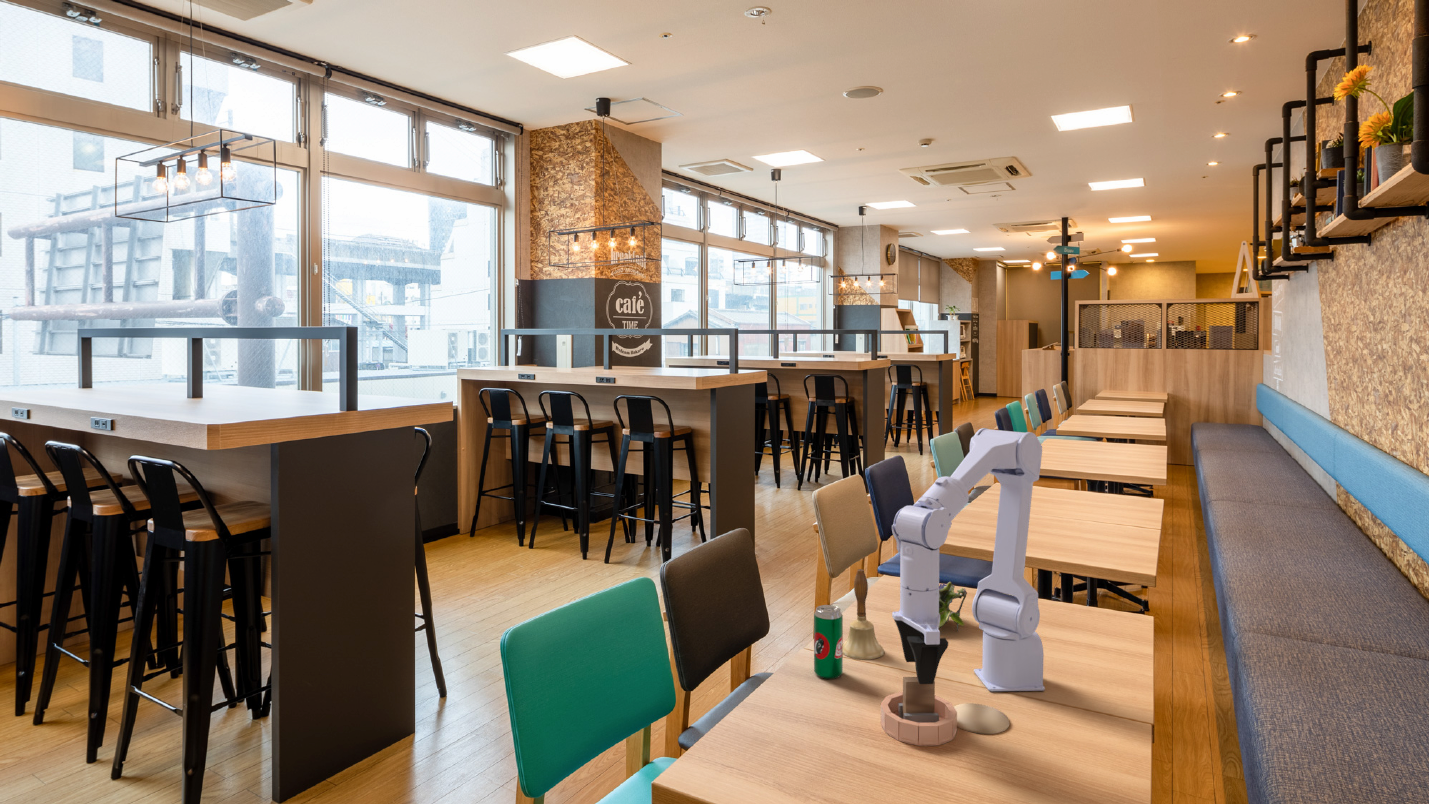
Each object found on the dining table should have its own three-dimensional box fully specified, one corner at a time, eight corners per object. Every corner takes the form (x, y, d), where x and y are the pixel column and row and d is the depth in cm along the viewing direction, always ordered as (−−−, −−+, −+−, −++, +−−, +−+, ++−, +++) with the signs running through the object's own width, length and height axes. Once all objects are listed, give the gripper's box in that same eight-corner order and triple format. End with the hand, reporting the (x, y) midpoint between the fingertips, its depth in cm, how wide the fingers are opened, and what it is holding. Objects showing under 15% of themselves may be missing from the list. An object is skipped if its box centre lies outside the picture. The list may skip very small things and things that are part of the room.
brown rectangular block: (931, 720, 119) (931, 676, 118) (934, 725, 117) (934, 681, 116) (902, 720, 119) (903, 676, 118) (905, 726, 117) (905, 682, 116)
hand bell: (855, 663, 141) (856, 578, 140) (831, 647, 149) (831, 566, 148) (892, 655, 145) (893, 572, 143) (867, 639, 152) (867, 561, 151)
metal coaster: (996, 705, 124) (996, 702, 124) (1018, 733, 115) (1018, 731, 115) (941, 706, 124) (941, 703, 124) (959, 734, 115) (959, 732, 115)
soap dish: (943, 708, 124) (943, 690, 123) (966, 745, 112) (966, 725, 112) (874, 709, 123) (874, 691, 123) (890, 746, 112) (890, 726, 112)
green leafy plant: (929, 644, 163) (941, 591, 168) (974, 651, 154) (985, 594, 159) (897, 625, 157) (911, 570, 162) (942, 630, 149) (955, 572, 154)
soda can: (842, 681, 134) (842, 614, 133) (813, 679, 135) (812, 613, 134) (843, 669, 139) (843, 604, 138) (815, 667, 140) (814, 603, 139)
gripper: (882, 571, 123) (882, 652, 124) (905, 602, 109) (904, 694, 110) (926, 570, 123) (925, 652, 124) (954, 601, 109) (953, 693, 110)
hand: (918, 671), depth 117 cm, fingers open, 7 cm apart
